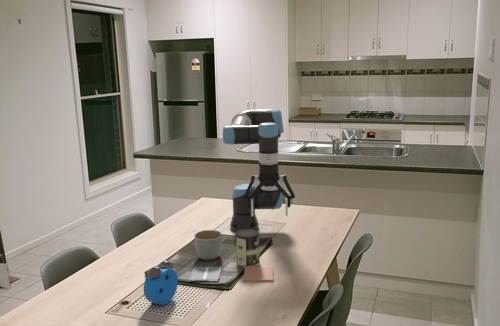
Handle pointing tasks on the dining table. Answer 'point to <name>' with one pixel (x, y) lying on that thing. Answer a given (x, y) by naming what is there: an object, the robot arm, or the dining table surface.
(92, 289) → the dining table surface
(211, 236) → the planter
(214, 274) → the pad
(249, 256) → the coffee can
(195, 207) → the dining table surface
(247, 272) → the pad
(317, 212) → the dining table surface
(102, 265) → the dining table surface
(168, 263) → the alarm clock
